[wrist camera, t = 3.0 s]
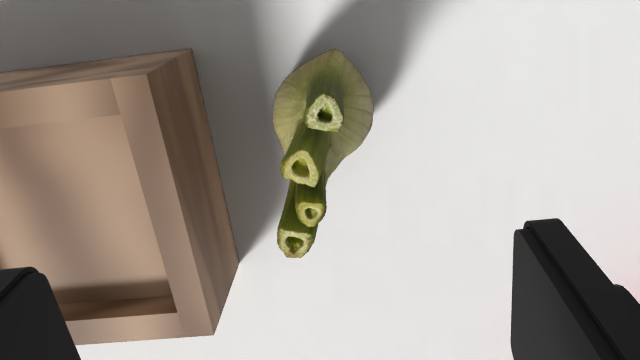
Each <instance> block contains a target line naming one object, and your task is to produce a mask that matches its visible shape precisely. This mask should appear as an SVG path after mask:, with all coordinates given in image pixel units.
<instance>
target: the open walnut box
mask: <svg viewBox="0 0 640 360" xmlns="http://www.w3.org/2000/svg"><path fill="white" fill-rule="evenodd" d="M238 265H239V261H238V257H237V252H236V248H235V243H234V239H233V234H232V229H231V225H230V220H229V216H228V211H227V207H226V202H225V198H224V193H223V189H222V184H221V180H220V175H219V170H218V166H217V161H216V157H215V152H214V148H213V143H212V139H211V134H210V130H209V125H208V120H207V116H206V111H205V107H204V102H203V98H202V93H201V89H200V84H199V80H198V75H197V70H196V66H195V61H194V57H193V52H192V49H185V50H177V51H169V52H161V53H154V54H146V55H138V56H130V57H122V58H114V59H106V60H98V61H90V62H82V63H74V64H66V65H58V66H50V67H42V68H34V69H27V70H19V71H11V72H3V73H0V270H2V269H9V268H20V267H34V268H36V269H37V270H38V271H39V273H43V274H44V275H45V276H46V277H47V279H48V281H49V284H50V286H51V289H52V291H53V293H54V296H55V298H56V301H57V303H58V305H59V308H60V310H61V313H62V315H63V318H64V320H65V322H66V325H67V327H68V330H69V332H70V335H71V337H72V339H73V342H74V344H75V345H85V344H99V343H112V342H126V341H140V340H154V339H168V338H181V337H195V336H209V335H214V333H215V330H216V328H217V325H218V322H219V319H220V316H221V313H222V311H223V308H224V305H225V302H226V299H227V296H228V294H229V291H230V288H231V285H232V282H233V280H234V277H235V274H236V271H237V268H238Z"/></svg>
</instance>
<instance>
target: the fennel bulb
mask: <svg viewBox="0 0 640 360" xmlns="http://www.w3.org/2000/svg"><path fill="white" fill-rule="evenodd" d="M373 110H374V108H373V102H372V98H371V92H370V90H369V87H368V85H367V83H366V82H365V81H364V79H363V77H362V76H361V74H360V73H359V71H358V70H357V69H356V67H355V66H354V65H353V64H352V62H351V61H350V60H349V59H348V58H347V57H346V56H345V55H344V54H343V53H342V52H340V51H338V50H337V49H333V50H330V51H328V52H326V53H323V54H320V55H319V56H317V57H315V58H313V59H312V60H310V61H308V62H306V63H305V64H304V65H302V66H301V67H299V68H298V69H296V70H295V71H294V72H293V73H291V74H290V75H288V77H287V78H285V80H284V81H283V83H282V84H281V86H280V87H279V90H278V92H277V93H276V96H275V100H274V105H273V124H274V129H275V133H276V134H277V136H278V138H279V139H280V142H281V145H282V149H283V152H284V155H285V156H284V158H283V160H282V162H281V173H282V176H283V177H284V178H285V179H290V184H289V189H288V194H287V197H286V201H285V205H284V209H283V212H282V216H281V219H280V222H279V225H278V232H277V238H278V239H277V243H278V245H279V248H280V249H281V250H282V251H283V252H284V254H285V256H286V257H291V258H298V257H299V258H301V257H302V256H304V255H305V254H306V253H307V252H308V251H309V250H310V248H311V246H312V244H313V243H314V240H315V237H316V232H317V227H318V223H319V222H320V221H321V220H322V219H323V217H324V216H325V213H326V189H325V187H326V183H327V180H328V178H329V177H330V175H331V174H332V173H333V171H334V170H335V169H336V168H337V166H338V165H339V164H340V162H341V161H342V160H343V159H344V158H345V157H346V156H348V155H349V154H351V153H352V152H354V151H355V150H356V149H357V148H358V147H359V146H360V145H361V144H362V142H363V141H364V139H365V138H366V136H367V134H368V133H369V131H370V129H371V126H372V121H373Z"/></svg>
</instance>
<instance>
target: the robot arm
mask: <svg viewBox="0 0 640 360" xmlns="http://www.w3.org/2000/svg"><path fill="white" fill-rule="evenodd" d="M511 349H512V354H513V358H514V360H640V304H639V303H638V302H637V301H636V299H635V298H634V297H633V296H632V295H631V294H630V292H629V291H628V290H626V289H625V288H624V287H623V286H621V285H618V284H615V285H613V283H612V282H611V281H610V280H609V279H608V277H607V276H606V275H605V274H604V272H603V271H602V270H601V269H600V268H599V266H598V265H597V264H596V263H595V261H594V260H593V259H592V258H591V257H590V255H589V254H588V253H587V252H586V250H585V249H584V248H583V247H582V246H581V244H580V243H579V242H578V241H577V240H576V238H575V237H574V236H573V235H572V233H571V232H570V231H569V230H568V229H567V227H566V226H565V225H564V224H563V222H562V221H561V220H560V219H557V218H555V219H544V220H533V221H526V222H525V224H524V227H523V229H518V230H516V231H515V233H514V247H513V280H512V313H511ZM0 360H81V359H80V356H79V354H78V352H77V349H76V347H75V344H74V342H73V339H72V337H71V335H70V332H69V330H68V327H67V325H66V322H65V320H64V318H63V315H62V313H61V310H60V308H59V305H58V303H57V301H56V298H55V296H54V293H53V291H52V289H51V286H50V284H49V281H48V279H47V277H46V276H45V275H44V274H43V273H39V271H38V270H37V269H36V268H34V267H20V268H9V269H2V270H0Z"/></svg>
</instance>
